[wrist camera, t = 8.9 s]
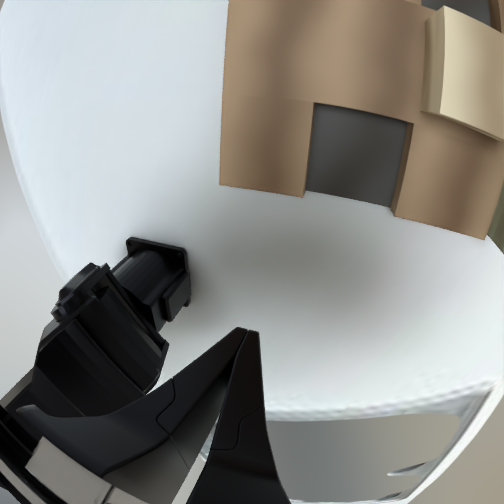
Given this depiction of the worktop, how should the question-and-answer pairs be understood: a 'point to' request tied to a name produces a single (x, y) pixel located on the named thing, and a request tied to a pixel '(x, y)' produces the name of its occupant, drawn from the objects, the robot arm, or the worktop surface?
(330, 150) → the board
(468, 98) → the birch block
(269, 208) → the worktop surface
